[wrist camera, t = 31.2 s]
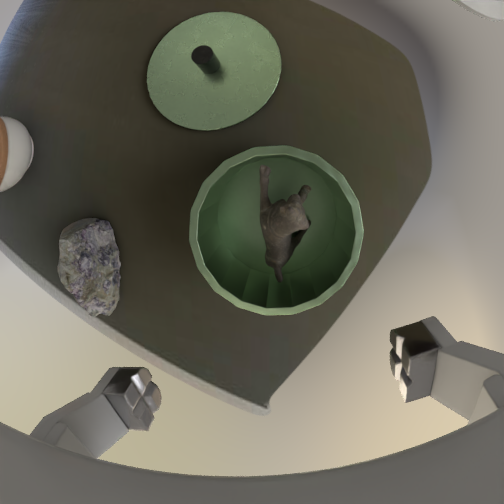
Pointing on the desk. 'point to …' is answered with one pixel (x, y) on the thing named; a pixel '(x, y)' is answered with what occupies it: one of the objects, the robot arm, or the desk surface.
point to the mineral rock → (90, 265)
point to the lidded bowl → (13, 151)
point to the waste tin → (251, 237)
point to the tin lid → (214, 71)
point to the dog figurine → (281, 223)
